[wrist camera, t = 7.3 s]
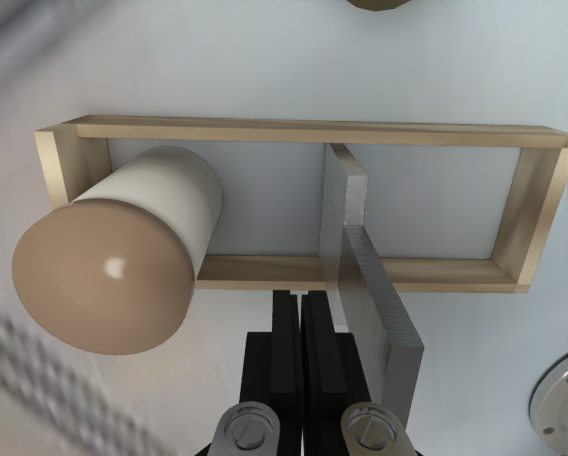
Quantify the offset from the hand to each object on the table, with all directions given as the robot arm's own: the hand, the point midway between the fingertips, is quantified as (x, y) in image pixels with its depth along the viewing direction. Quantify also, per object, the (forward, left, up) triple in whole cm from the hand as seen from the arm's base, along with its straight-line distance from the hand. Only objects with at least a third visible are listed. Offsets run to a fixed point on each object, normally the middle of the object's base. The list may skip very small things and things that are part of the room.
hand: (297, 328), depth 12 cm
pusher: (0, -2, -12) cm, 12 cm away
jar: (0, +7, -12) cm, 14 cm away
